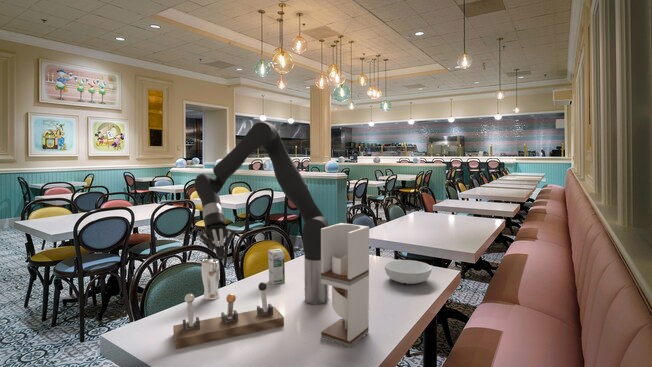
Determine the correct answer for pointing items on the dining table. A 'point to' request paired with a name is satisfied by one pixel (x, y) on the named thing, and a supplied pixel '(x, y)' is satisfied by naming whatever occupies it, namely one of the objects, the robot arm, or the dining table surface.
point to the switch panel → (226, 326)
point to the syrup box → (276, 266)
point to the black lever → (263, 297)
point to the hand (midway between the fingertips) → (221, 257)
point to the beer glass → (210, 278)
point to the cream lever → (190, 311)
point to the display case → (346, 280)
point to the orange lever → (230, 307)
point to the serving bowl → (408, 271)
